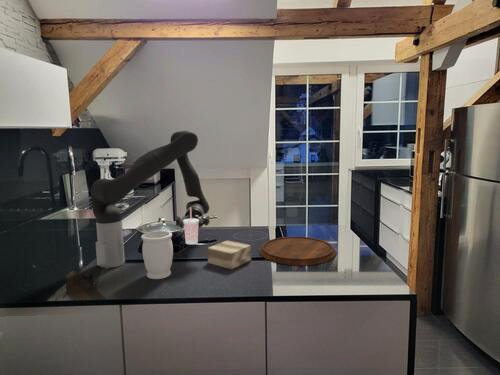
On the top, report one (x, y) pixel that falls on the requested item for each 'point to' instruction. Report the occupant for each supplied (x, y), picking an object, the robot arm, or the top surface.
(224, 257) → the wooden riser
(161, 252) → the jar
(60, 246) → the top surface
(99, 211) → the robot arm
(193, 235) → the beverage cup
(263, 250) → the cutting board
